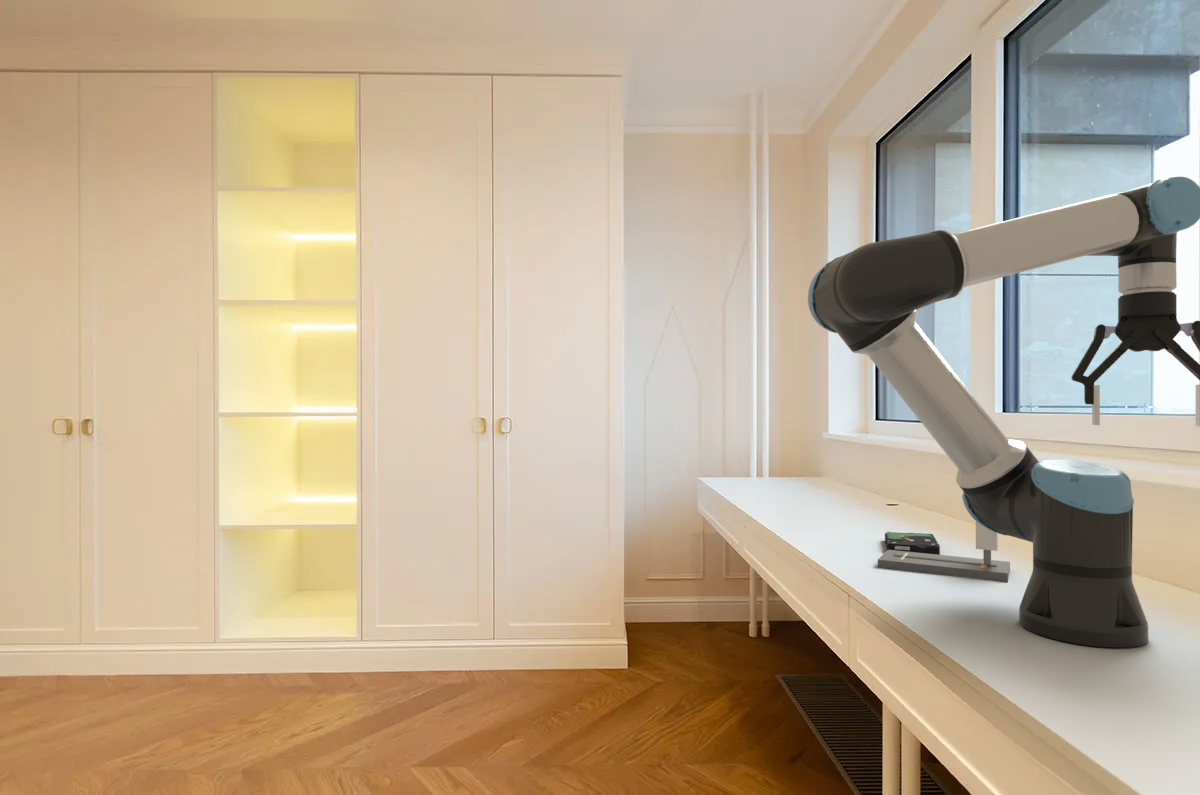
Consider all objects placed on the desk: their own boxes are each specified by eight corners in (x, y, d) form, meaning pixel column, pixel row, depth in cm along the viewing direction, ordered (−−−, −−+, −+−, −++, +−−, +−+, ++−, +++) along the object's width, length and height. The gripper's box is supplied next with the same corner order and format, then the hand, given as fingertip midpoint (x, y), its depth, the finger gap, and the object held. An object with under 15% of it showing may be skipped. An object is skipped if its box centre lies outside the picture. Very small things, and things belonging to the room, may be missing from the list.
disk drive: (941, 559, 153) (932, 545, 167) (941, 546, 153) (932, 532, 167) (887, 556, 156) (883, 542, 170) (887, 543, 156) (883, 530, 170)
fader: (997, 567, 135) (997, 512, 135) (975, 565, 136) (975, 511, 136) (998, 562, 139) (998, 509, 139) (977, 560, 141) (977, 507, 141)
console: (1007, 581, 131) (1007, 572, 131) (877, 567, 142) (877, 559, 142) (1010, 569, 141) (1010, 561, 141) (888, 556, 152) (888, 549, 152)
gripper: (1240, 290, 115) (1240, 426, 115) (1053, 300, 127) (1053, 423, 127) (1255, 284, 109) (1255, 427, 109) (1057, 295, 121) (1057, 424, 121)
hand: (1146, 425), depth 118 cm, fingers open, 13 cm apart
